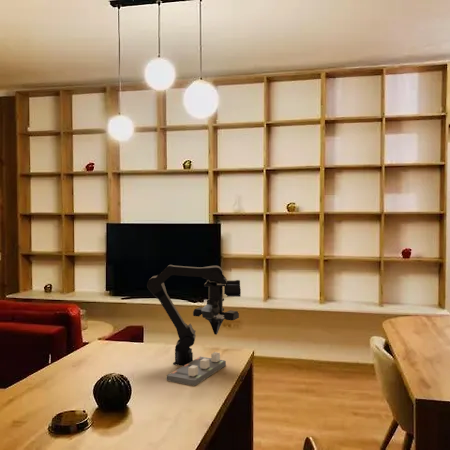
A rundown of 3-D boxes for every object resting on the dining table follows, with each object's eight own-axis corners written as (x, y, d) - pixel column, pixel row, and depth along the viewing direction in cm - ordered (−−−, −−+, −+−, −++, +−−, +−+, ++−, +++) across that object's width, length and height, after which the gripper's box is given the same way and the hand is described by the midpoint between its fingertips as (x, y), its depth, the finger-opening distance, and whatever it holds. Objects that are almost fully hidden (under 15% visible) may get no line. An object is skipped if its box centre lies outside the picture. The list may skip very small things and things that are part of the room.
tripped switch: (188, 375, 181) (188, 367, 181) (192, 372, 184) (192, 365, 184) (193, 376, 180) (193, 368, 180) (198, 373, 183) (197, 365, 183)
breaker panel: (166, 380, 182) (166, 375, 182) (200, 361, 205) (199, 356, 205) (194, 385, 177) (194, 380, 177) (225, 365, 199) (225, 360, 199)
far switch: (211, 361, 197) (211, 354, 197) (214, 359, 200) (214, 352, 200) (216, 362, 196) (216, 354, 196) (220, 360, 199) (220, 352, 199)
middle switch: (200, 368, 189) (200, 360, 189) (204, 365, 192) (204, 358, 192) (205, 369, 188) (205, 361, 188) (209, 366, 191) (209, 359, 191)
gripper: (185, 298, 198) (186, 336, 199) (227, 302, 190) (227, 342, 191) (199, 293, 208) (199, 330, 209) (239, 297, 200) (239, 335, 200)
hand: (215, 334), depth 202 cm, fingers closed
